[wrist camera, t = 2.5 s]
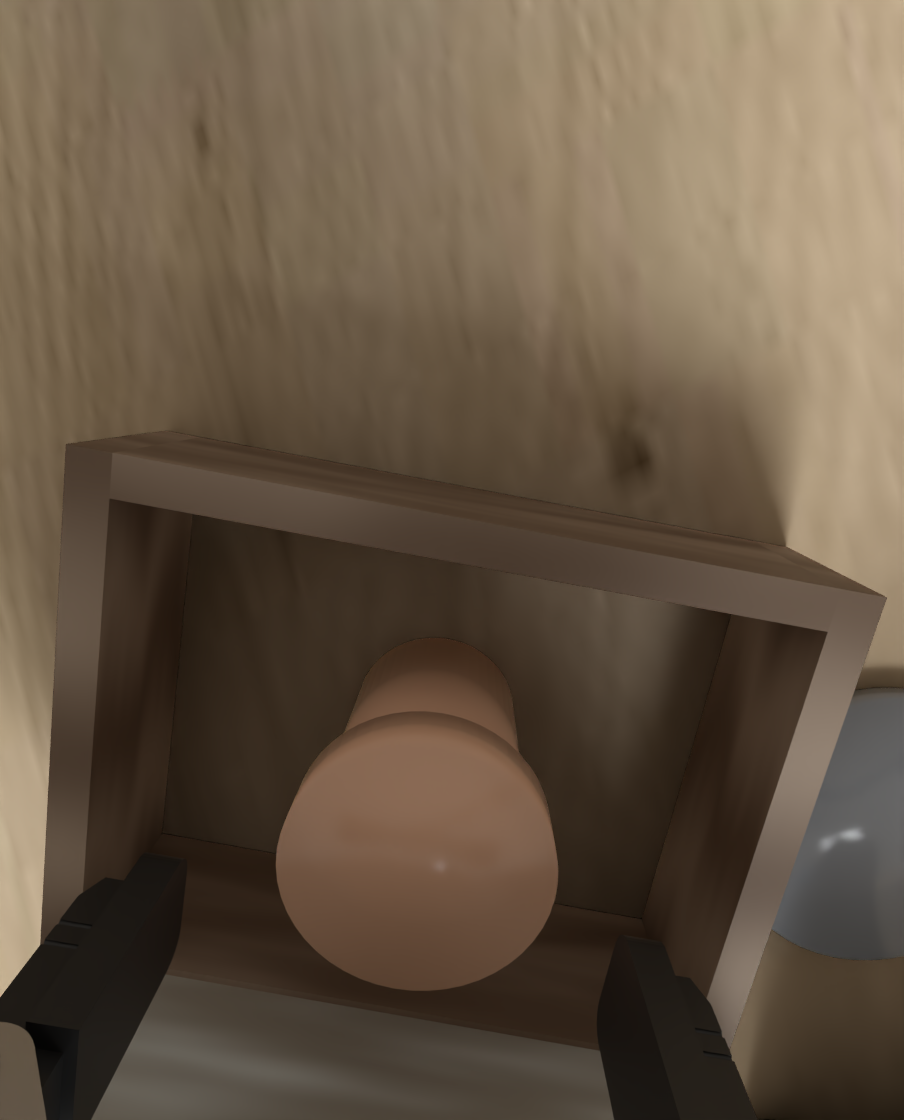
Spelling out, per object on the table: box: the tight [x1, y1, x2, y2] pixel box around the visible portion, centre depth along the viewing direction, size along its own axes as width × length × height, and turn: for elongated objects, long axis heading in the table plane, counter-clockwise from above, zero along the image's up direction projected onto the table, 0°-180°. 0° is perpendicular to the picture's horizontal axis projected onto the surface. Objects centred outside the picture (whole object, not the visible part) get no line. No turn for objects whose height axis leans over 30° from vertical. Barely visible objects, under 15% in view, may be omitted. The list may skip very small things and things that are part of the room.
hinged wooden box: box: [40, 431, 887, 1120], centre depth 13 cm, size 14×18×19 cm
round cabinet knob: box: [276, 638, 558, 991], centre depth 18 cm, size 6×6×8 cm
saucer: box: [772, 688, 904, 960], centre depth 22 cm, size 9×9×1 cm
